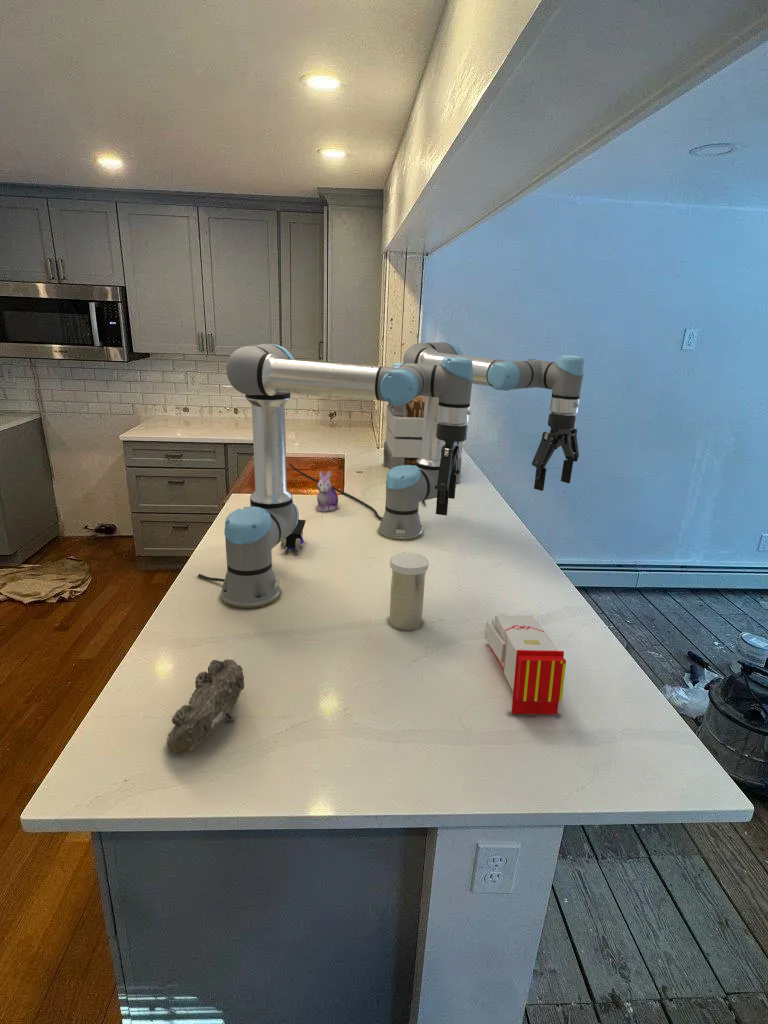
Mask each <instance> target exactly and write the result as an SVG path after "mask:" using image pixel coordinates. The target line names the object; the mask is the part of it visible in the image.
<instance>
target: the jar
mask: <svg viewBox="0 0 768 1024" xmlns="http://www.w3.org/2000/svg"><path fill="white" fill-rule="evenodd" d="M390 581H391V582H390V600H389V617H388V618H389V622H388V623H389V625H391V626H392V628H395V629H396V630H400V631H413V630H416V629H419V628H420V627H421V626H422V621H423V610H424V609H423V608H424V597H425V596H424V595H425V583H426V571H425V572H424V573H421V574H417V575H406V574H401V573H398V572H395V571H394V570H392V569H391V580H390Z"/></svg>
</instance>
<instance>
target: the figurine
mask: <svg viewBox="0 0 768 1024" xmlns="http://www.w3.org/2000/svg"><path fill="white" fill-rule="evenodd" d="M318 473H319V475H318V476H319V480H318V481H319V483H318V482H317V484H316V485H317V490H318V493H317V495H316V502H317V506H316V508H317V511H319V512H331V511H335V510H336V509H338V506H339V496H338V493H337V491H335V490H334V489H332V487H333V485H332V482H331V480H330V479H331V476H332V470H330V469H329V470H328V471H327V472H326V474H325V473H324V472H323V471H322V470H320V471H319V472H318Z"/></svg>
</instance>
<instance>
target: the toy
mask: <svg viewBox="0 0 768 1024" xmlns="http://www.w3.org/2000/svg"><path fill="white" fill-rule="evenodd" d="M494 615H495V616H494V617H491V622H490V620H485V621H486V622H485V630H484V640H485V641H486V642H487V646H488V647H489V649H490V651H491V652H492V654H493V656H494V657H495V659H496V661H497V663H498V665H499V667H500V668H501V670H502V671H503V674H504V676H505V678H506V680H507V682H508V684H509V686H510V689H511V690H512V701H511V712H510V713H511V714H512V715H556V716H558V715H559V714H558V713H559V705H560V703H562V702H563V695H564V694H563V693H564V686H565V685H564V683H565V677H566V676H565V675H566V667H567V666H566V665H567V660H566V658H564V656H565V651H564V650H559V649H558V648H557V646H556V645H555V644H554V642H553V641H552V640H551V638H550V637H549V636H548V634H547V633H546V631H544V629H543V628H542V626H541V625H540V623H539V622H538V620H536V618H535V617H534V615H531V614H530V615H527V614H526V615H523V614H519V615H518V614H494Z"/></svg>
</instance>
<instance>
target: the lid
mask: <svg viewBox="0 0 768 1024" xmlns="http://www.w3.org/2000/svg"><path fill="white" fill-rule="evenodd" d="M429 565H430V564H429V559H428V558H427V557H426V556H425V555H423V554H420V553H417V552H409V551H408V552H407V551H406V552H403V551H402V552H397V553H395V554H393V555H392V556H391V557H390V559H389V567H390V568H391V571H392V570H394V571H395V572H398V573H401V574H406V575H417V574H421V573H424V572H425V573H426V572H427V571H428V569H429Z"/></svg>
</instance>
